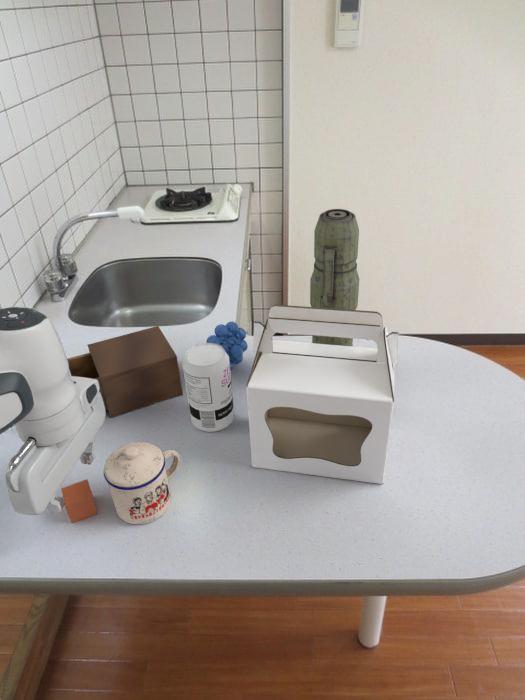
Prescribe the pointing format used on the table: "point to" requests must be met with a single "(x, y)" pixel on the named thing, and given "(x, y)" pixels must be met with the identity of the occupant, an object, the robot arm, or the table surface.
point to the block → (79, 501)
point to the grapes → (230, 341)
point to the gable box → (322, 394)
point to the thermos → (335, 267)
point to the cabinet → (136, 370)
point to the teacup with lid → (140, 481)
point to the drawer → (85, 370)
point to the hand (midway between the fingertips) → (74, 483)
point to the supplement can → (208, 386)
